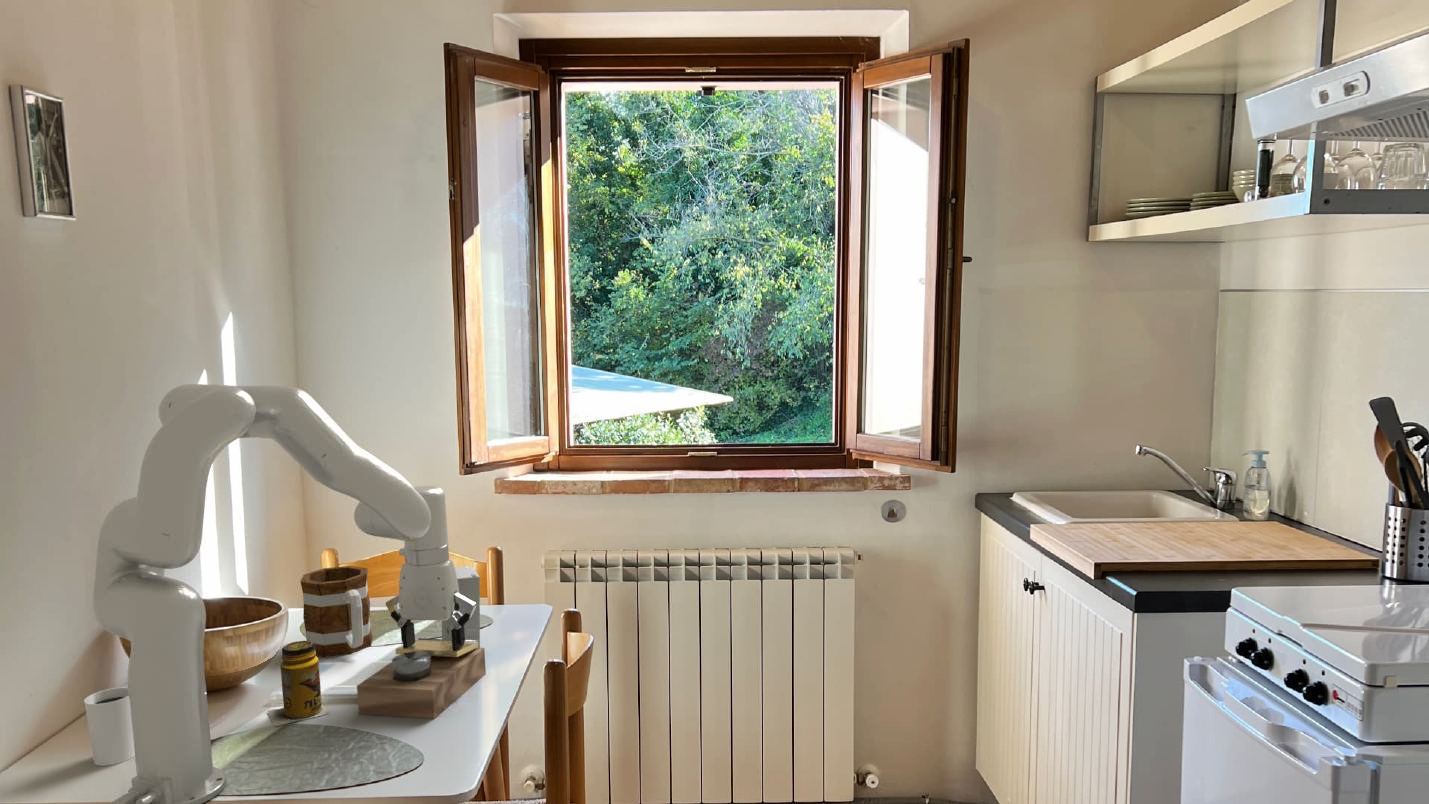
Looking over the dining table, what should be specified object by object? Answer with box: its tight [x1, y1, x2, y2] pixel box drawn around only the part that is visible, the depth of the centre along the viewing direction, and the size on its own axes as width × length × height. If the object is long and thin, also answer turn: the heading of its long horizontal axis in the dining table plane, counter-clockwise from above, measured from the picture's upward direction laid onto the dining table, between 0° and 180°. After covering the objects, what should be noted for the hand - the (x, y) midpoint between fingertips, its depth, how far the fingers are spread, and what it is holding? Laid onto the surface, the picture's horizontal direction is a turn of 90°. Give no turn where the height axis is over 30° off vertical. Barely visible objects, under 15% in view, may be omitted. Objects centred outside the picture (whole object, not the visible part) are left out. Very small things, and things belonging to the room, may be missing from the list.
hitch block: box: [356, 647, 487, 720], centre depth 175 cm, size 20×14×5 cm
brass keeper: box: [395, 637, 481, 657], centre depth 180 cm, size 9×12×1 cm
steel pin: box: [391, 651, 432, 682], centre depth 170 cm, size 6×6×8 cm
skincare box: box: [441, 565, 481, 648], centre depth 197 cm, size 8×7×16 cm
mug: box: [299, 565, 374, 658], centre depth 198 cm, size 20×14×15 cm
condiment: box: [267, 640, 329, 727], centre depth 167 cm, size 7×8×12 cm
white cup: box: [83, 686, 135, 767], centre depth 153 cm, size 7×7×10 cm
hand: (433, 647), depth 178 cm, fingers open, 9 cm apart
